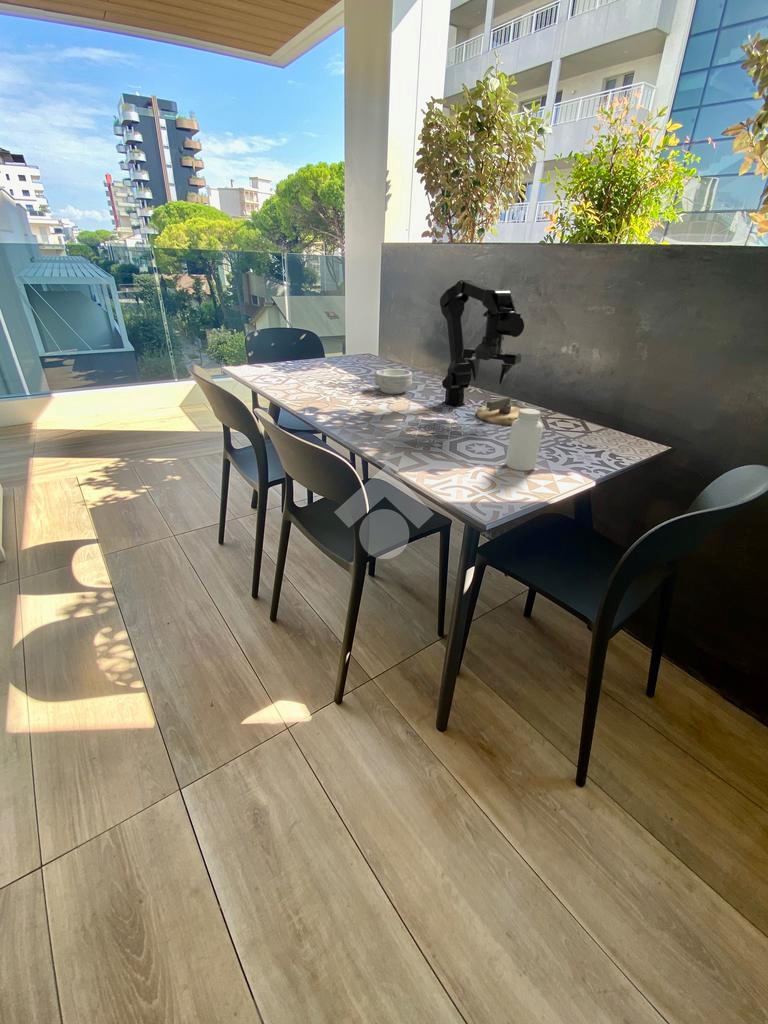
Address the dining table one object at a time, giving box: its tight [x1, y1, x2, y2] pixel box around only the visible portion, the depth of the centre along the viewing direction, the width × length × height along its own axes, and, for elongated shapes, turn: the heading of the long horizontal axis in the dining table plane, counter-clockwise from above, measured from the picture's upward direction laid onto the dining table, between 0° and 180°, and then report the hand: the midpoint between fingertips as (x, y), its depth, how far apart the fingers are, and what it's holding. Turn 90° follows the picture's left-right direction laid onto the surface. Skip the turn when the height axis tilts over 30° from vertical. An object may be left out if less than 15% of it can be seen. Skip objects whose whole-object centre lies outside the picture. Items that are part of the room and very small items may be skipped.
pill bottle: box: [505, 408, 544, 472], centre depth 117 cm, size 8×8×15 cm
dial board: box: [476, 405, 522, 426], centre depth 159 cm, size 19×19×2 cm
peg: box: [481, 396, 513, 413], centre depth 154 cm, size 15×4×5 cm, turn 131°
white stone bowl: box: [374, 368, 413, 395], centre depth 185 cm, size 15×15×8 cm
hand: (487, 382), depth 152 cm, fingers open, 9 cm apart
